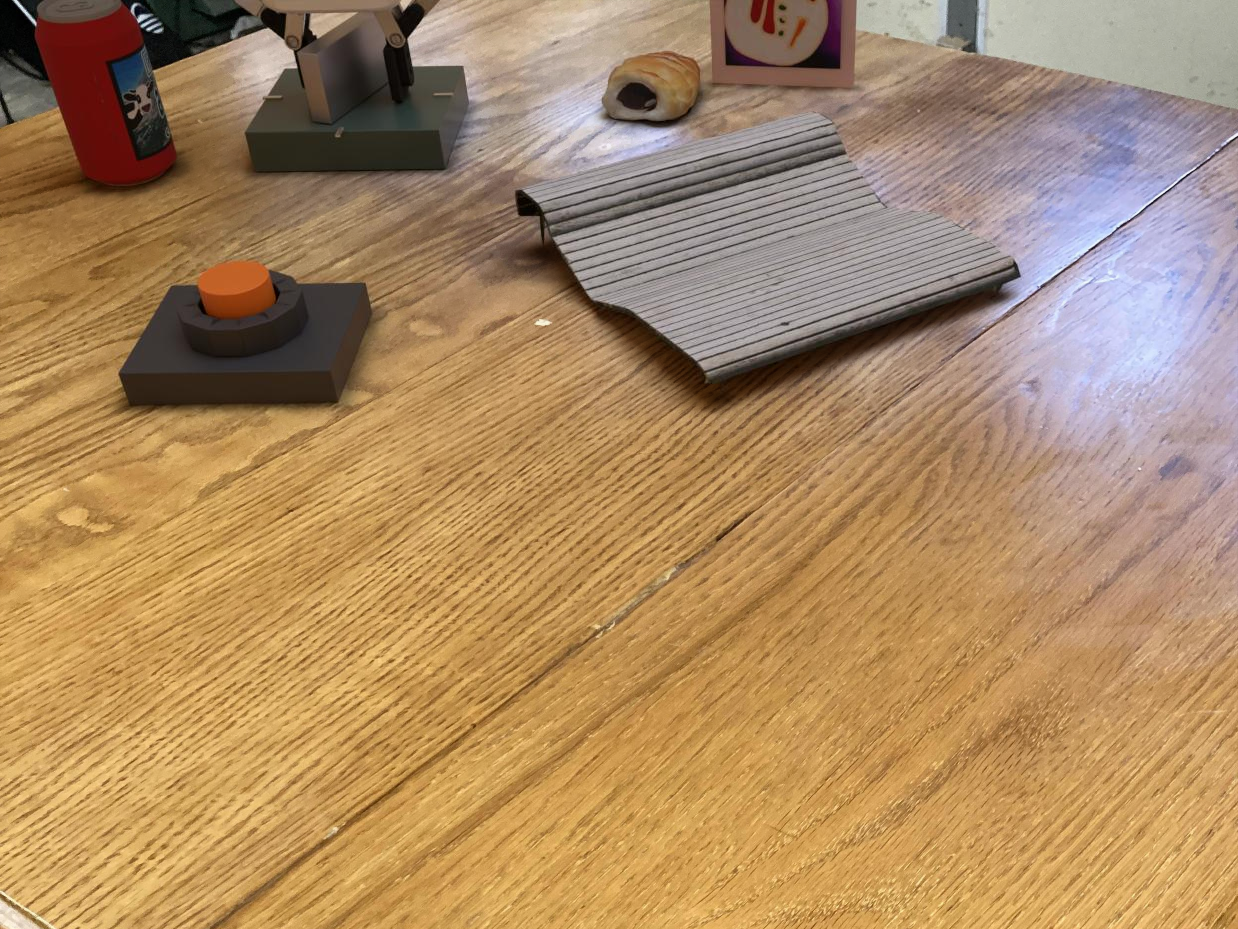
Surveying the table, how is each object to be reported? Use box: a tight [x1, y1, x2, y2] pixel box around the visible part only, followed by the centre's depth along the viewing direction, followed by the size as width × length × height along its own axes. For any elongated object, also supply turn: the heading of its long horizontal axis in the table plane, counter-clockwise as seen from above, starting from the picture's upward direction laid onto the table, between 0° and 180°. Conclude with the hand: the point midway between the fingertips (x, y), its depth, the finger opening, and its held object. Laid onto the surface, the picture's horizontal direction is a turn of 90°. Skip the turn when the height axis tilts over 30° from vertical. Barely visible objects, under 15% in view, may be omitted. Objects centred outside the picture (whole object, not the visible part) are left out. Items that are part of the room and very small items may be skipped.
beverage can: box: [34, 0, 178, 187], centre depth 100 cm, size 7×7×12 cm
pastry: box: [600, 50, 701, 122], centre depth 111 cm, size 9×7×4 cm
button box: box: [117, 269, 373, 406], centre depth 84 cm, size 12×10×4 cm
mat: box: [514, 111, 1022, 398], centre depth 91 cm, size 23×24×5 cm
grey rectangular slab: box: [297, 12, 389, 124], centre depth 105 cm, size 10×2×5 cm, turn 160°
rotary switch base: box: [244, 65, 470, 173], centre depth 107 cm, size 14×14×3 cm
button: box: [196, 260, 276, 319], centre depth 82 cm, size 4×4×2 cm
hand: (360, 93), depth 106 cm, fingers open, 5 cm apart
